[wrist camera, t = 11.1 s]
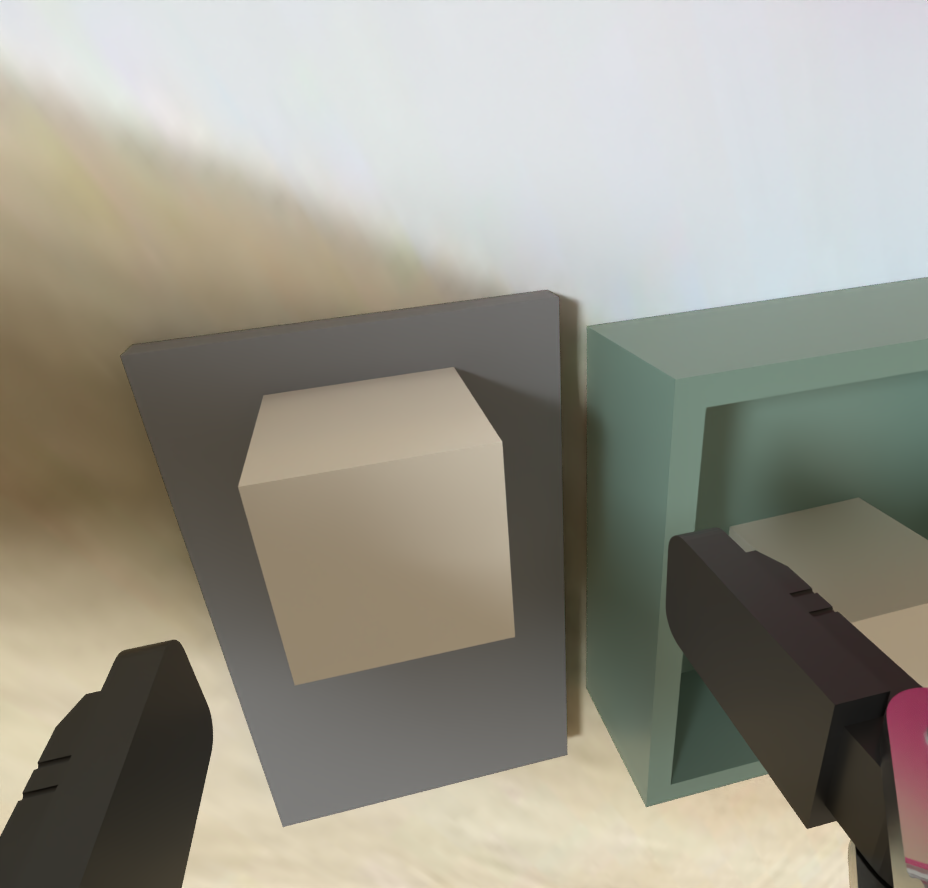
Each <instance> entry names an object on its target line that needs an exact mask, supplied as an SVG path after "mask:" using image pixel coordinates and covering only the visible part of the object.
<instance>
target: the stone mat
mask: <svg viewBox="0 0 928 888" xmlns="http://www.w3.org/2000/svg"><path fill="white" fill-rule="evenodd" d="M120 357H121V360H122V362H123V365H124V368H125V371H126V374H127V377H128V380H129V383H130V386H131V389H132V391H133V394H134V397H135V400H136V403H137V406H138V409H139V412H140V415H141V417H142V420H143V423H144V426H145V429H146V432H147V435H148V438H149V441H150V444H151V446H152V449H153V452H154V455H155V458H156V461H157V464H158V467H159V470H160V472H161V475H162V478H163V481H164V484H165V487H166V490H167V493H168V496H169V498H170V501H171V504H172V507H173V510H174V513H175V516H176V519H177V522H178V525H179V527H180V530H181V533H182V536H183V539H184V542H185V545H186V548H187V551H188V553H189V556H190V559H191V562H192V565H193V568H194V571H195V574H196V577H197V580H198V582H199V585H200V588H201V591H202V594H203V597H204V600H205V603H206V606H207V608H208V611H209V614H210V617H211V620H212V623H213V626H214V629H215V632H216V634H217V637H218V640H219V643H220V646H221V649H222V652H223V655H224V658H225V661H226V663H227V666H228V669H229V672H230V675H231V678H232V681H233V684H234V687H235V689H236V692H237V695H238V698H239V701H240V704H241V707H242V710H243V713H244V716H245V718H246V721H247V724H248V727H249V730H250V733H251V736H252V739H253V742H254V744H255V747H256V750H257V753H258V756H259V759H260V762H261V765H262V768H263V770H264V773H265V776H266V779H267V782H268V785H269V788H270V791H271V794H272V797H273V799H274V802H275V805H276V808H277V811H278V814H279V817H280V820H281V823H282V825H283V827H285V826H289V825H293V824H297V823H301V822H305V821H309V820H312V819H316V818H320V817H324V816H328V815H332V814H336V813H340V812H344V811H348V810H352V809H356V808H360V807H364V806H368V805H372V804H375V803H379V802H383V801H387V800H391V799H395V798H399V797H403V796H407V795H411V794H415V793H419V792H423V791H427V790H431V789H435V788H438V787H442V786H446V785H450V784H454V783H458V782H462V781H466V780H470V779H474V778H478V777H482V776H486V775H490V774H494V773H498V772H501V771H505V770H509V769H513V768H517V767H521V766H525V765H529V764H533V763H537V762H541V761H545V760H549V759H553V758H557V757H561V756H565V755H567V706H566V651H565V597H564V542H563V488H562V433H561V379H560V325H559V296H557V295H555V294H553V293H551V292H550V291H548V290H542V291H535V292H527V293H519V294H512V295H504V296H497V297H489V298H482V299H474V300H467V301H459V302H452V303H444V304H437V305H429V306H422V307H414V308H406V309H399V310H391V311H384V312H376V313H369V314H361V315H354V316H346V317H339V318H331V319H324V320H316V321H309V322H301V323H293V324H286V325H278V326H271V327H263V328H256V329H248V330H241V331H233V332H226V333H218V334H211V335H203V336H196V337H188V338H180V339H173V340H165V341H158V342H150V343H143V344H135V345H132V346H130V347H129V348H128V349H127V350H126V351H125V352H124V353H123V354H122V355H121V356H120ZM450 367H454V368H455V369H456V371H457V373H458V374H459V376H460V377H461V379H462V380H463V382H464V383H465V385H466V386H467V388H468V390H469V391H470V393H471V394H472V396H473V397H474V399H475V400H476V402H477V404H478V405H479V407H480V408H481V410H482V411H483V413H484V414H485V416H486V417H487V419H488V421H489V422H490V424H491V425H492V427H493V428H494V430H495V431H496V433H497V434H498V436H499V438H500V439H501V441H502V445H503V460H504V475H505V491H506V506H507V521H508V536H509V552H510V567H511V582H512V597H513V613H514V628H515V637H513V638H508V639H504V640H499V641H494V642H490V643H485V644H481V645H476V646H472V647H467V648H463V649H458V650H454V651H449V652H445V653H440V654H435V655H431V656H426V657H422V658H417V659H413V660H408V661H404V662H399V663H395V664H390V665H386V666H381V667H376V668H372V669H367V670H363V671H358V672H354V673H349V674H345V675H340V676H336V677H331V678H327V679H322V680H317V681H313V682H308V683H304V684H299V685H295V684H294V681H293V677H292V674H291V670H290V667H289V663H288V660H287V656H286V653H285V649H284V646H283V642H282V639H281V635H280V632H279V628H278V625H277V622H276V618H275V615H274V611H273V608H272V604H271V601H270V597H269V594H268V590H267V587H266V583H265V580H264V576H263V573H262V569H261V566H260V562H259V559H258V555H257V552H256V548H255V545H254V541H253V538H252V534H251V531H250V527H249V524H248V520H247V517H246V513H245V510H244V506H243V503H242V499H241V496H240V492H239V489H238V485H239V482H240V478H241V474H242V471H243V467H244V464H245V460H246V456H247V453H248V449H249V446H250V442H251V438H252V435H253V431H254V428H255V424H256V420H257V417H258V413H259V410H260V406H261V402H262V399H263V395H269V394H275V393H282V392H289V391H296V390H302V389H309V388H316V387H322V386H329V385H336V384H343V383H349V382H356V381H363V380H369V379H376V378H383V377H390V376H396V375H403V374H410V373H416V372H423V371H430V370H436V369H443V368H450Z"/></svg>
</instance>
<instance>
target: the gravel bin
mask: <svg viewBox="0 0 928 888" xmlns="http://www.w3.org/2000/svg"><path fill="white" fill-rule="evenodd" d="M854 498H860V499H862V500H864V501H865V502H867V503H868V504H870V505H872V506H873V507H875V508H877V509H878V510H880V511H881V512H883V513H885V514H886V515H888V516H890V517H891V518H893V519H894V520H896V521H898V522H899V523H901V524H902V525H904V526H906V527H907V528H909V529H911V530H912V531H914V532H915V533H917V534H919V535H920V536H922V537H924V538H925V539H927V540H928V277H926V278H919V279H912V280H905V281H898V282H891V283H884V284H877V285H870V286H863V287H856V288H849V289H842V290H835V291H828V292H821V293H814V294H807V295H800V296H793V297H787V298H780V299H773V300H766V301H759V302H752V303H745V304H738V305H731V306H724V307H717V308H710V309H703V310H696V311H689V312H682V313H675V314H668V315H661V316H654V317H647V318H640V319H633V320H626V321H619V322H612V323H605V324H598V325H591V326H587V658H586V688H587V690H588V692H589V694H590V696H591V698H592V700H593V702H594V704H595V706H596V708H597V710H598V712H599V714H600V716H601V718H602V720H603V722H604V724H605V726H606V728H607V730H608V732H609V734H610V736H611V738H612V740H613V742H614V744H615V746H616V748H617V750H618V752H619V754H620V756H621V758H622V760H623V762H624V764H625V766H626V768H627V770H628V772H629V774H630V776H631V778H632V780H633V782H634V784H635V786H636V788H637V790H638V792H639V794H640V796H641V798H642V800H643V802H644V804H645V806H646V807H649V806H652V805H656V804H660V803H663V802H667V801H671V800H674V799H678V798H682V797H685V796H689V795H693V794H696V793H700V792H704V791H707V790H711V789H715V788H718V787H722V786H726V785H729V784H733V783H737V782H740V781H744V780H748V779H751V778H755V777H759V776H762V775H766V774H768V773H767V771H766V770H765V768H764V767H763V765H762V764H761V763H760V761H759V760H758V758H757V757H756V756H755V754H754V753H753V751H752V750H751V748H750V747H749V746H748V744H747V743H746V741H745V740H744V738H743V737H742V736H741V734H740V733H739V731H738V730H737V728H736V727H735V726H734V724H733V723H732V721H731V720H730V718H729V717H728V716H727V714H726V713H725V711H724V710H723V709H722V707H721V706H720V704H719V703H718V701H717V700H716V699H715V697H714V696H713V694H712V693H711V691H710V690H709V689H708V687H707V686H706V684H705V683H704V681H703V680H702V679H701V677H700V676H699V674H698V673H697V671H696V670H695V669H694V667H693V666H692V664H691V663H690V661H689V660H688V659H687V657H686V656H685V654H684V653H683V652H682V650H681V649H680V647H679V646H678V644H677V643H676V641H675V639H674V637H673V635H672V633H671V630H670V627H669V624H668V620H667V616H666V583H667V561H668V545H669V541H670V539H671V538H672V537H673V536H675V535H680V534H685V533H689V532H694V531H699V530H704V529H708V528H713V527H717V528H720V529H722V530H723V531H724V532H725V533H726V534H727V535H728V536H729V528H730V526H735V525H739V524H743V523H748V522H752V521H757V520H761V519H766V518H770V517H774V516H779V515H783V514H788V513H792V512H797V511H801V510H806V509H810V508H814V507H819V506H823V505H828V504H832V503H837V502H841V501H845V500H850V499H854Z"/></svg>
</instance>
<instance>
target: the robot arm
mask: <svg viewBox="0 0 928 888" xmlns="http://www.w3.org/2000/svg"><path fill="white" fill-rule="evenodd" d="M666 616H667V620H668V624H669V627H670V630H671V633H672V635H673V637H674V639H675V641H676V643H677V644H678V646H679V647H680V649H681V650H682V652H683V653H684V654H685V656H686V657H687V659H688V660H689V661H690V663H691V664H692V666H693V667H694V669H695V670H696V671H697V673H698V674H699V676H700V677H701V679H702V680H703V681H704V683H705V684H706V686H707V687H708V689H709V690H710V691H711V693H712V694H713V696H714V697H715V699H716V700H717V701H718V703H719V704H720V706H721V707H722V709H723V710H724V711H725V713H726V714H727V716H728V717H729V718H730V720H731V721H732V723H733V724H734V726H735V727H736V728H737V730H738V731H739V733H740V734H741V736H742V737H743V738H744V740H745V741H746V743H747V744H748V746H749V747H750V748H751V750H752V751H753V753H754V754H755V756H756V757H757V758H758V760H759V761H760V763H761V764H762V765H763V767H764V768H765V770H766V771H767V773H768V774H769V775H770V777H771V778H772V780H773V781H774V783H775V784H776V785H777V787H778V788H779V790H780V791H781V793H782V794H783V795H784V797H785V798H786V800H787V801H788V803H789V804H790V805H791V807H792V808H793V810H794V811H795V812H796V814H797V815H798V817H799V818H800V820H801V821H802V822H803V824H804V825H805V827H806V828H807V829H809V828H812V827H816V826H820V825H823V824H827V823H830V822H834V821H837V822H838V823H839V824H840V826H841V827H842V828H843V830H844V831H845V832H846V834H847V835H848V836H849V838H850V839H851V840H850V843H849V847H848V865H849V884H850V888H928V688H926V687H924V688H923V687H922V686H921V685H920V684H918V683H917V682H916V681H915V680H914V679H913V678H912V677H911V676H909V675H908V674H907V673H906V672H905V671H904V670H903V669H902V668H901V667H899V666H898V665H897V664H896V663H895V662H894V661H893V660H892V659H890V658H889V657H888V656H887V655H886V654H885V653H884V652H883V651H882V650H880V649H879V648H878V647H877V646H876V645H875V644H874V643H873V642H872V641H870V640H869V639H868V638H867V637H866V636H865V635H864V634H863V633H862V632H860V631H859V630H858V629H857V628H856V627H855V626H854V625H853V624H852V623H850V622H849V621H848V620H847V619H846V618H845V617H844V616H843V615H842V614H840V613H839V612H838V611H837V612H835V611H834V610H833V606H831V605H830V604H829V603H828V602H827V601H826V600H825V599H824V598H823V597H821V596H820V595H819V594H818V593H814V592H813V591H812V588H811V587H810V586H809V585H808V584H807V583H806V582H805V581H804V580H803V579H801V578H800V577H799V576H798V575H797V574H796V573H795V572H794V571H793V570H791V569H790V568H789V567H788V566H786V565H784V564H782V563H780V562H778V561H776V560H774V559H772V558H770V557H768V556H766V555H764V554H762V553H760V552H758V551H756V550H754V551H750V552H745V551H744V550H743V549H742V548H741V547H740V546H739V545H738V544H737V543H736V542H735V541H734V540H733V539H732V538H731V537H730V536H728V535H727V534H726V533H725V532H724V531H723V530H722V529H720V528H717V527H713V528H708V529H704V530H699V531H694V532H689V533H685V534H680V535H675V536H673V537H672V538H671V539H670V541H669V545H668V561H667V583H666ZM212 744H213V726H212V719H211V714H210V710H209V707H208V705H207V702H206V700H205V698H204V695H203V693H202V690H201V688H200V686H199V683H198V681H197V679H196V676H195V674H194V672H193V669H192V667H191V665H190V662H189V660H188V657H187V655H186V653H185V650H184V648H183V646H182V645H181V643H180V642H178V641H177V640H170V641H165V642H161V643H156V644H151V645H146V646H142V647H137V648H132V649H127V650H124V651H122V652H120V653H119V654H118V656H117V657H116V659H115V661H114V663H113V666H112V668H111V670H110V672H109V674H108V677H107V679H106V681H105V683H104V685H103V687H102V690H101V691H98V692H94V693H89V694H86V695H85V696H84V697H83V698H82V699H81V700H80V701H79V702H78V703H77V704H76V706H75V707H74V708H73V709H72V710H71V711H70V712H69V713H68V714H67V715H66V717H65V718H64V719H63V720H62V721H61V722H60V723H59V724H58V725H57V726H56V728H55V730H54V732H53V734H52V736H51V738H50V740H49V742H48V744H47V746H46V747H45V749H44V751H43V753H42V755H41V757H40V759H39V761H38V769H36V770H34V771H33V773H32V775H31V777H30V779H29V781H28V783H27V785H26V787H25V789H24V791H23V799H22V800H21V801H18V803H17V805H16V807H15V809H14V811H13V813H12V815H11V817H10V818H9V820H8V822H7V824H6V826H5V828H4V830H3V832H2V834H1V836H0V888H182V883H183V879H184V874H185V870H186V865H187V861H188V856H189V852H190V847H191V843H192V838H193V833H194V829H195V824H196V820H197V815H198V811H199V806H200V802H201V797H202V793H203V788H204V784H205V779H206V775H207V770H208V765H209V761H210V756H211V751H212Z"/></svg>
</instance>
